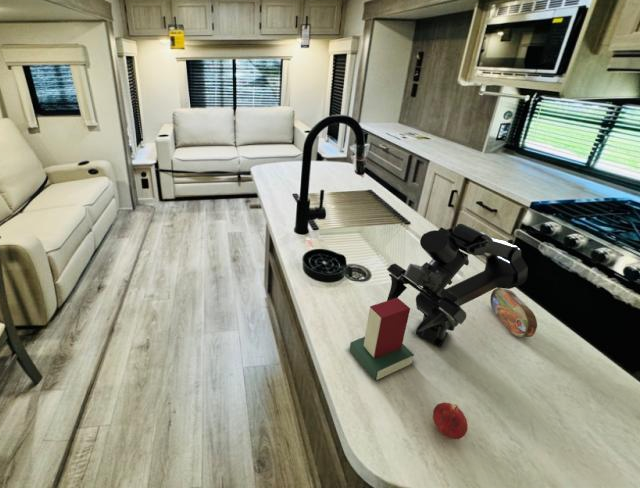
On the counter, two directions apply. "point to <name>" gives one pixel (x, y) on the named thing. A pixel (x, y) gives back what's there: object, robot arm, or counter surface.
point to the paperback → (386, 327)
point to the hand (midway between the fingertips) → (401, 317)
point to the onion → (450, 420)
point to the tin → (513, 313)
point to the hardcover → (380, 359)
